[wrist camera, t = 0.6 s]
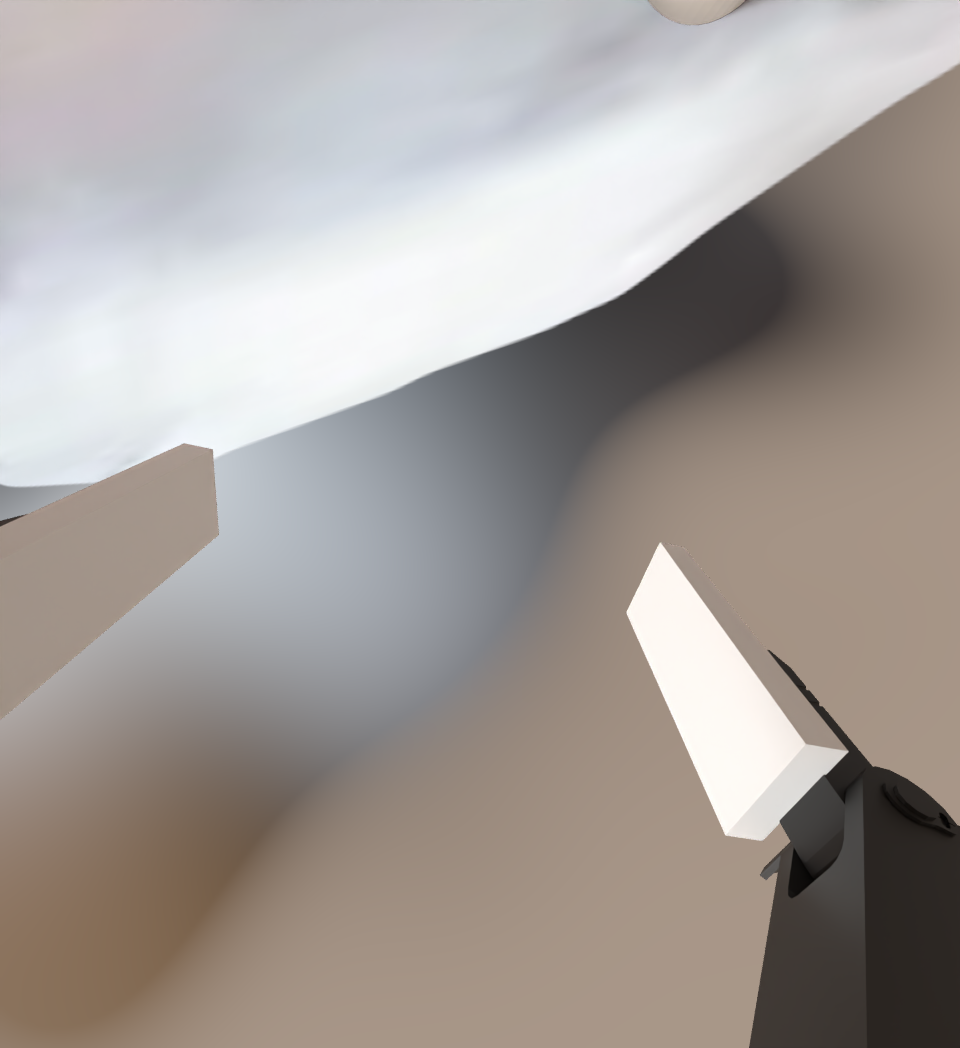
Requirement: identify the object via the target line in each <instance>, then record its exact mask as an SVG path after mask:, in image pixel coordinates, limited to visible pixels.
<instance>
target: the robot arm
mask: <svg viewBox="0 0 960 1048" xmlns="http://www.w3.org/2000/svg"><path fill="white" fill-rule="evenodd" d="M218 535H219V529H218V516H217V502H216V489H215V476H214V462H213V449H208V448H203V447H199V446H194V445H189V444H182V445H180V446H177V447H175V448H173V449H171V450H168V451H166V452H164V453H162V454H160V455H157V456H155V457H153V458H151V459H149V460H146V461H144V462H142V463H140V464H138V465H135V466H133V467H131V468H129V469H126V470H124V471H122V472H120V473H118V474H115V475H113V476H111V477H109V478H107V479H104V480H102V481H100V482H98V483H96V484H93V485H91V486H89V487H87V488H84V489H82V490H80V491H78V492H76V493H73V494H71V495H69V496H67V497H65V498H63V499H60V500H58V501H56V502H53V503H51V504H49V505H47V506H45V507H42V508H40V509H38V510H36V511H34V512H31V513H29V514H25V515H22V516H18V517H14V518H10V519H6V520H2V521H0V720H1V719H2V718H3V717H5V716H6V715H7V714H8V713H9V712H10V711H12V710H13V709H14V708H15V707H16V706H18V705H19V704H20V703H21V702H22V701H23V700H25V699H26V698H27V697H28V696H29V695H30V694H32V693H33V692H34V691H35V690H36V689H38V688H39V687H40V686H41V685H42V684H43V683H45V682H46V681H47V680H48V679H49V678H51V677H52V676H53V675H54V674H55V673H56V672H58V671H59V670H60V669H61V668H62V667H64V666H65V665H66V664H67V663H68V662H69V661H71V660H72V659H73V658H74V657H75V656H76V655H78V654H79V653H80V652H81V651H82V650H83V649H85V648H86V647H87V646H88V645H89V644H90V643H92V642H93V641H94V640H95V639H97V638H98V637H99V636H100V635H101V634H102V633H103V632H105V631H106V630H107V629H108V628H110V627H111V626H112V625H113V624H114V623H115V622H117V621H118V620H119V619H120V618H121V617H122V616H124V615H125V614H126V613H127V612H128V611H129V610H131V609H132V608H133V607H134V606H135V605H137V604H138V603H139V602H140V601H141V600H143V599H144V598H145V597H146V596H147V595H148V594H150V593H151V592H152V591H153V590H154V589H155V588H156V587H158V586H159V585H160V584H161V583H163V582H164V581H165V580H166V579H167V578H168V577H170V576H171V575H172V574H173V573H174V572H175V571H176V570H178V569H179V568H180V567H181V566H183V565H184V564H185V563H186V562H187V561H189V560H190V559H191V558H192V557H193V556H194V555H196V554H197V553H198V552H199V551H200V550H201V549H203V548H204V547H205V546H206V545H207V544H208V543H210V542H211V541H212V540H213V539H214V538H216V537H217V536H218ZM627 615H628V617H629V620H630V622H631V624H632V626H633V628H634V631H635V633H636V635H637V638H638V640H639V642H640V644H641V646H642V649H643V651H644V653H645V656H646V658H647V660H648V662H649V664H650V667H651V669H652V671H653V673H654V676H655V678H656V680H657V682H658V685H659V687H660V689H661V691H662V693H663V696H664V698H665V700H666V703H667V705H668V707H669V709H670V711H671V714H672V716H673V718H674V721H675V723H676V725H677V727H678V730H679V732H680V734H681V736H682V738H683V741H684V743H685V745H686V747H687V750H688V752H689V754H690V756H691V759H692V761H693V763H694V765H695V768H696V770H697V772H698V774H699V777H700V779H701V781H702V783H703V785H704V788H705V790H706V792H707V795H708V797H709V799H710V801H711V804H712V806H713V808H714V810H715V813H716V814H717V817H718V819H719V822H720V824H721V826H722V828H723V830H724V833H725V835H727V836H734V837H741V838H747V839H754V840H761V841H763V840H764V838H766V837H767V836H768V835H769V833H770V832H771V831H772V830H773V829H774V828H775V827H776V826H777V825H778V824H779V823H781V825H782V827H783V829H784V830H785V832H786V834H787V836H788V837H789V839H790V841H791V842H790V843H789V844H788V845H787V846H786V847H785V848H784V849H783V850H782V851H781V852H780V853H779V854H777V855H776V856H775V857H774V858H773V859H772V860H771V861H770V862H769V863H768V864H767V865H766V866H765V867H764V869H763V871H762V872H761V874H760V876H762V877H763V878H764V879H766V880H767V879H768V878H769V877H770V876H771V875H772V874H773V873H777V872H778V876H777V881H776V887H775V894H774V900H773V906H772V912H771V918H770V924H769V930H768V936H767V942H766V948H765V955H764V961H763V967H762V973H761V979H760V985H759V991H758V997H757V1003H756V1009H755V1016H754V1021H753V1028H752V1034H751V1040H750V1046H749V1048H960V826H958V825H957V824H956V823H955V822H954V820H953V819H952V818H951V817H950V816H949V814H948V813H947V812H946V811H945V809H944V808H943V807H942V806H940V805H939V804H938V803H937V802H936V801H935V800H934V799H933V798H932V797H931V796H929V795H928V794H927V793H926V792H925V791H924V790H922V789H921V788H919V787H918V786H916V785H915V784H914V783H912V782H911V781H909V780H908V779H906V778H904V777H902V776H900V775H898V774H896V773H894V772H892V771H890V770H887V769H883V768H880V767H873V766H872V765H871V764H870V763H869V762H868V761H867V759H866V758H865V757H864V756H863V755H862V753H861V752H860V751H859V750H858V748H857V747H856V746H855V745H854V744H853V742H852V741H851V740H850V739H849V738H848V736H847V735H846V734H845V733H844V732H843V730H842V729H841V728H840V727H839V726H838V724H837V723H836V722H835V721H834V720H833V718H832V717H831V716H830V715H829V714H828V712H827V711H826V710H825V709H824V708H823V707H822V706H819V701H818V700H817V699H816V698H815V697H814V695H813V694H812V693H811V692H810V691H809V690H806V686H805V685H804V683H803V682H802V681H801V680H800V679H799V678H798V676H797V675H796V674H795V673H794V671H793V670H792V669H791V668H790V667H789V666H788V665H787V664H785V663H784V662H783V661H782V660H780V659H779V658H778V657H777V656H776V655H774V654H773V653H772V652H771V651H770V650H767V649H766V648H765V647H764V646H763V644H762V643H761V642H760V641H759V639H758V638H757V637H756V636H755V634H753V632H752V631H751V630H750V628H749V627H748V626H747V625H746V623H745V622H744V621H743V620H742V618H741V617H740V616H739V615H738V614H737V612H736V611H735V610H734V608H733V607H732V606H731V605H730V603H729V602H728V601H727V600H726V599H725V597H724V596H723V595H722V594H721V592H720V591H719V590H718V589H717V587H716V586H715V585H714V584H713V583H712V581H711V580H710V579H709V577H708V576H707V575H706V574H705V572H704V571H703V570H702V569H701V567H700V566H699V565H698V564H697V562H696V561H695V560H694V559H693V558H692V556H691V555H690V554H689V553H688V551H687V550H686V549H685V548H684V547H682V546H676V545H672V544H667V543H663V542H660V543H659V545H658V548H657V550H656V552H655V554H654V556H653V558H652V560H651V563H650V564H649V566H648V569H647V571H646V573H645V575H644V577H643V579H642V581H641V583H640V585H639V588H638V590H637V592H636V594H635V596H634V598H633V600H632V602H631V604H630V606H629V608H628V611H627Z"/></svg>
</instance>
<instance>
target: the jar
mask: <svg viewBox="0 0 960 1048" xmlns="http://www.w3.org/2000/svg"><path fill="white" fill-rule="evenodd" d="M648 1H649V3H650V4H651V5H652V6H653V8H654V9H656V10H657V11H658V12H659V13H660V14H661V15H663V16H664V17H666V18H668V19H669V20H671V21H674V22H677V23H679V24H685V25H701V24H705V23H710V22H712V21H715V20H718V19H720V18H722V17H724V16H725V15H727V14H729V13H731V12H732V11H733V10H735V9H736V8H737V7H739V6H740V5H741V4H742V3H743V2H744V1H745V0H648Z"/></svg>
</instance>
